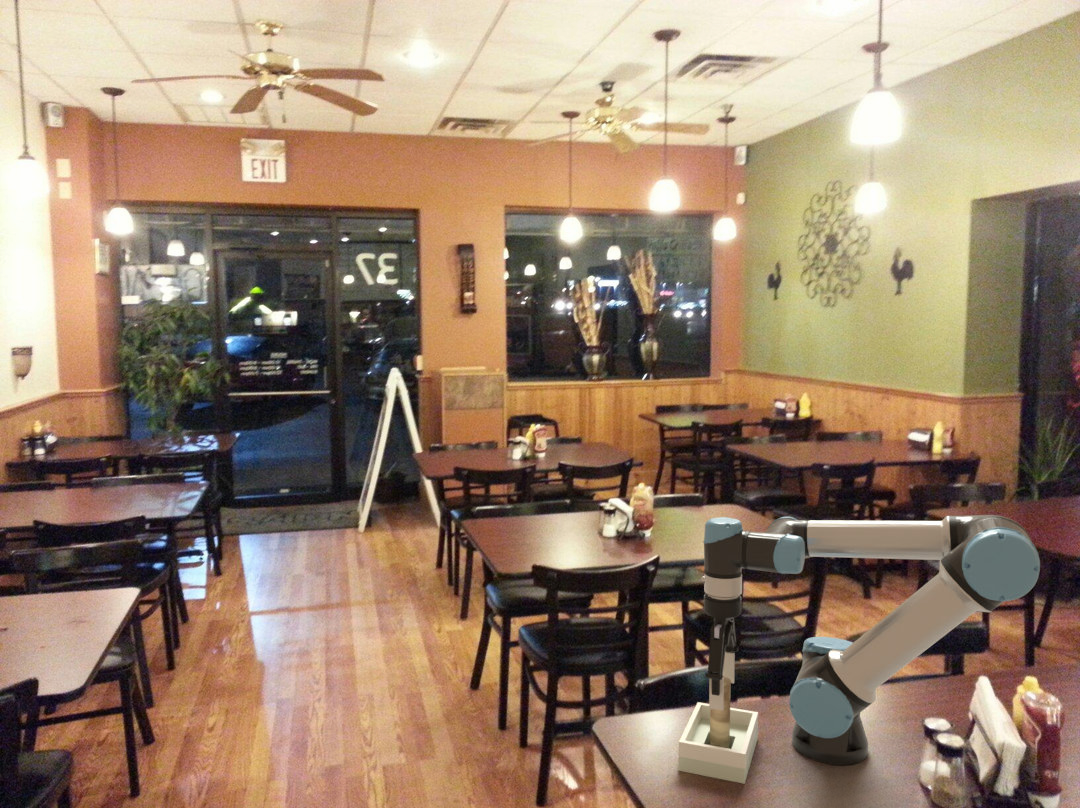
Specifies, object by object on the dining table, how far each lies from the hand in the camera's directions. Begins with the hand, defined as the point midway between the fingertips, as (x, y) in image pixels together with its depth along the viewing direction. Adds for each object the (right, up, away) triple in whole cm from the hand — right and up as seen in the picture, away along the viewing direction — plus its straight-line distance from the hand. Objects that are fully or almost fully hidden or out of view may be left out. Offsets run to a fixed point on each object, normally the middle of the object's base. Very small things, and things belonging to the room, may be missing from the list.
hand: (722, 695), depth 170 cm
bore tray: (0, -13, +1) cm, 13 cm away
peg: (0, -13, +1) cm, 13 cm away
